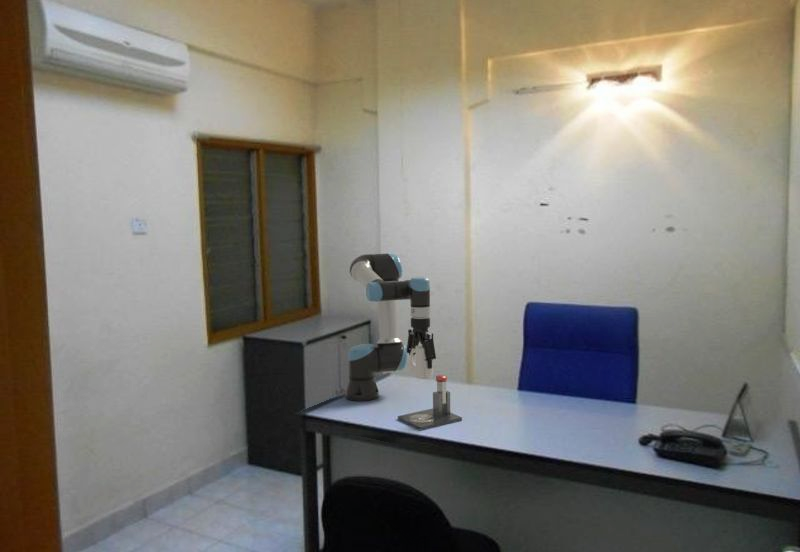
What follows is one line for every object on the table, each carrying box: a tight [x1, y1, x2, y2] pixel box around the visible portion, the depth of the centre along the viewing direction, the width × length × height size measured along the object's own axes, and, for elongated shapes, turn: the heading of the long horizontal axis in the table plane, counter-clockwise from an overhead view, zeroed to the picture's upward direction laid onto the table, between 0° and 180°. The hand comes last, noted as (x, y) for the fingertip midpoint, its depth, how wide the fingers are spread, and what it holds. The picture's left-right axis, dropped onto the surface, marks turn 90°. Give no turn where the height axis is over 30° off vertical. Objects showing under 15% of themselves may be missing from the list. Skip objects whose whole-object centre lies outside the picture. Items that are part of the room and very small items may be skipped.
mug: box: [409, 344, 434, 380], centre depth 236 cm, size 10×7×12 cm, turn 54°
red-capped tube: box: [435, 374, 448, 404], centre depth 243 cm, size 4×4×11 cm
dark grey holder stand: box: [397, 390, 463, 431], centre depth 240 cm, size 16×20×10 cm
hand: (421, 373), depth 236 cm, fingers closed on mug, 9 cm apart
